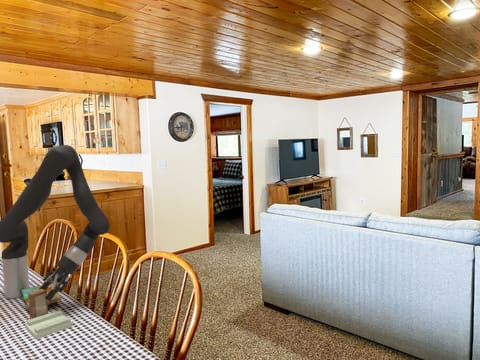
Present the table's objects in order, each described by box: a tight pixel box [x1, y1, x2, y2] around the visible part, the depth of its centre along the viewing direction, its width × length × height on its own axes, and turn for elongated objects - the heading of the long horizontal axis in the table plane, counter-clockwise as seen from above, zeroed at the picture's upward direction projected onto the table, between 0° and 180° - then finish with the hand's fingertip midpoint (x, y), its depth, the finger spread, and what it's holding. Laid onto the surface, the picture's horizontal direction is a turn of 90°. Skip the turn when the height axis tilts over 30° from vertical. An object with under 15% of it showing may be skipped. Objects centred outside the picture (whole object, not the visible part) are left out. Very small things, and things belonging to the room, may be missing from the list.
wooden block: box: [28, 289, 49, 320], centre depth 135 cm, size 4×5×10 cm
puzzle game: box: [22, 284, 62, 310], centre depth 150 cm, size 12×5×20 cm
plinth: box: [24, 309, 74, 340], centre depth 128 cm, size 11×12×3 cm
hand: (43, 296), depth 136 cm, fingers open, 8 cm apart
